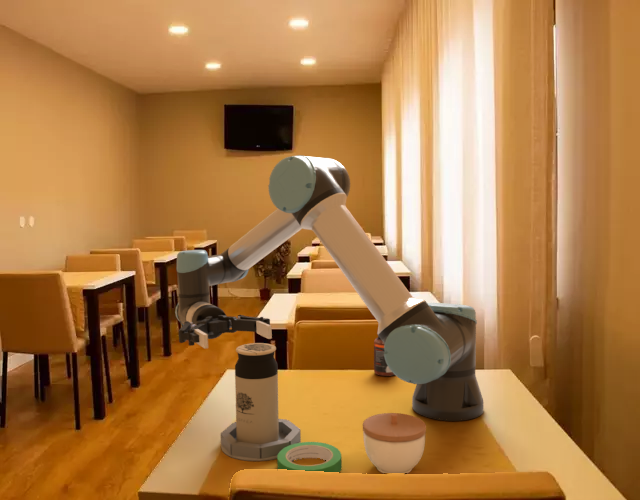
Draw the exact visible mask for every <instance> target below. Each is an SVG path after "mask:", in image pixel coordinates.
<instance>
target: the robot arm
mask: <svg viewBox="0 0 640 500" xmlns="http://www.w3.org/2000/svg"><path fill="white" fill-rule="evenodd" d="M268 179H269V184H268V185H267V186H268V194H269V198H270V201H271V203H272V204H273V205H274V206H275V207H276V209H275V210H274V211H273V212H271V213H270V214H269V215H267V216H266V217H265V218H264V219H263V220H261V221H260V222H259V223H258V224H256V225H255V226H254V227H253V228H251V229H250V230H249V231H247V232H246V233H245V234H244V235H242V236H241V237H240V238H239V239H238V240H236V241H235V242H234V243H232V244H231V245H230V246H229V247H228V248H226V250H225V249H224V251H222V253H220V254H214V255H213V254H212V255H208V252H207V251H206V250H205V249H192V250H188V249H187V250H182V251H179V252H178V253H177V255H176V276H177V290H178V298H177V299H178V302H177V304H176V306H175V311H174V313H175V317H176V319H177V320H178V322H179V323H180V324H181V325H182V326H181V327H180V328H179V329H178V342H179V344H183V343H185V342H188V346H195V344H197V345H199V346H200V347H202V348H203V349H205V350H206V349H209V340H214V339H217V338H218V337H220V336H221V335H223V334H226V333H227V334H229V333H230V334H234V333H236V332H250V333H252V332H253V333H256V334H258V335H260V336H261V337H263V338H266V339H268V340H271V339H273V337H272V336H273V334H272V325H271V319H270V318H268V317H267V318H266V317H264V316H260V317H258V316H257V317H256V316H247V315H243V314H239V315H237V316H228V315H227V314H226V313H225V311H224V310H223V309H222V308H220V307H219V306H216V305H214V304H212V303H211V299H210V298H211V296H210V295H211V294H210V293H211V292H210V286H215V285H216V286H217V285H220V284H221V285H222V284H225V283H234V282H237V281H240V280H242V279H244V278H245V277H246V276H247V275H248V273H249V271H250V268H252V267H253V266H254V265H256V264H257V263H259V262H260V261H261V260H262V259H264V258H265V257H266V256H268V255H269V254H270V253H272V252H273V251H274V250H276V249H277V248H278V247H279V246H281V245H283V244H284V243H285V242H286V241H288V240H289V239H290V238H292V237H293V236H294V235H296V234H297V233H299V232H300V231H301V230H302V229H303V230H309V231H312V232H313V233H314V235H315V236H316V238H317V239H318V240H319V242H320V243H321V245H322V246H323V247H324V249H326V251H327V253H328V254H329V256H330V257H331V258H332V260H333V261H334V263H335V264H336V266H338V268H339V269H340V270H341V272H342V274H343V275H344V277H345V278H346V279H347V281H348V282H349V283H350V285H351V286H352V288H353V289H354V291H355V292H356V293H357V294H358V296H359V298H360V299H361V300H362V301H363V303H364V305H365V306H366V307H367V309H368V310H369V311H370V313H371V315H372V316H373V317H374V318H375V320H376V321H377V322H378V325H377V326H378V327H377V333H376V334H377V337H378V336H379V337H380V339H381V340H382V341H383V343H384V344H385V345H384V350H385V352H384V357H385V361H386V363H387V365H388V367H389V369H390V370H391V371H392V372H393V373H394V374H395V375H394V376H396V377H397V378H399V379H400V380H402V381H404V382H406V383H409V384H413V385H414V384H415V385H416V386H415V389H414V391H413V393H412V397H411V398H412V399H411V400H412V403H411V405H412V410H413V411H414V412H415V413H416V414H418V415H421V416H422V417H425V418H430V419H432V420H438V421H446V422H456V421H457V422H459V421H461V422H462V421H469V420H473V419H476V418H478V417H480V416H481V415H483V413H484V398H483V395H482V392H481V389H480V386H479V382H478V380H477V379H478V378H477V376H476V355H477V353H476V351H477V350H476V349H477V347H476V344H477V340H476V339H477V324H478V320H477V315H476V309H475V308H474V307H473V306H471V305H466V304H458V303H444V302H443V303H441V302H427V301H426V299H425V300H424V299H420V298H415V297H413V295H412V294H411V293H410V291H409V290H408V289H407V287H406V286H405V284H404V283H403V282H402V280H401V279H400V277H399V276H398V275H397V273H396V272H395V271H394V269H393V268H392V267H391V266H390V264H389V263H388V261H387V260H386V258H385V257H384V256H383V255H382V253H381V252H380V251H379V249H378V248H377V247H376V245H375V244H374V242H373V241H372V240H371V239H370V238H369V236H368V235H367V233H366V232H365V230H364V229H363V227H362V226H361V225H360V223H359V222H358V221H357V220H356V218H355V217H354V216H353V214H352V213H351V211H350V210H349V209H348V208H347V206H346V205H347V199H348V196H349V194H350V191H351V179H350V175H349V173H348V170H347V169H346V167H345V166H344V165H342V163H341V162H339V161H337V160H336V159H333V158H330V157H316V156H308V155H307V156H305V155H303V154H297V155H292V156H287V157H284V158H282V159H281V160H279V161H278V162H277V163H276V165H275V166H274V167H273V169H272V170H271V173H270V175H269V178H268Z"/></svg>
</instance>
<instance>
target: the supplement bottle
mask: <svg viewBox="0 0 640 500" xmlns="http://www.w3.org/2000/svg"><path fill="white" fill-rule="evenodd" d="M384 345H385V344H384V343H383V341H382V340H381V339H380V337H379V336H378V335H377V337H376V338H375V339H374V341H373V350H374V351H373V371H374V373H375V375H377V376H381V377H390V376H392V377H393V376H396V375H395V374H394V373H393V372H392V371H391V370H390V369H389V367H388V365H387V363H386V361H385V357H384V352H385V350H384Z"/></svg>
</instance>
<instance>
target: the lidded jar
mask: <svg viewBox="0 0 640 500" xmlns="http://www.w3.org/2000/svg"><path fill="white" fill-rule="evenodd" d="M426 430H427V425H426V423H425V422H424V421H423V419H420V418H419V417H417V416H413V415H410V414H405V413H401V412H400V413H397V412H387V413H386V412H385V413H379V414H374V415H373V414H372V415H371V416H369V417H367V418H366V419H364V421H363V422H362V431H363V444H364V445H363V446H364V449H365V453H366V455H367V458H368V460H369V461H370V462H371V463H372V465H374V467H376V470H377V471H379V472H380V473H381V474H384V473H407V474H409V473H410V472H411V471H412V470H413V469H414V467H416V465H418V463H419V462H420V461H421V458H422V457H423V454H424V451H425V445H426V433H427V432H426Z"/></svg>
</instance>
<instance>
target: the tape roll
mask: <svg viewBox="0 0 640 500" xmlns="http://www.w3.org/2000/svg"><path fill="white" fill-rule="evenodd" d="M302 458H304V459H317V458H320V459H319V460H322V459H323V460H322V461H324V462H322V463H316V464H312V465H304V464H298V463H295V461H294V460H296V461H298V460H297V459H299V460H303V459H302ZM276 460H277V463H276V464H277V470H278V469H287V470H305V471H324V472H340V471H342V469H343V468H342V460H343V459H342V452H341V451H340V449H339V448H337V447H335V446H334V445H332V444H328V443H324V442H319V441H304V442H301V443H296V444H292V445H289V446H287V447H285V448H283V449H282V450H281V451H280V452H279V453H278V456H277V459H276ZM325 460H326V461H325ZM293 461H294V462H293ZM341 468H342V469H341ZM340 473H341V472H340Z"/></svg>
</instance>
